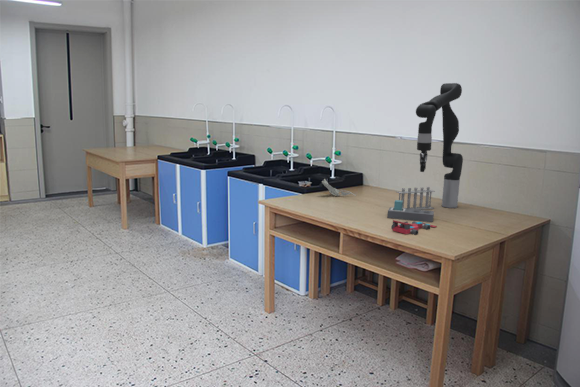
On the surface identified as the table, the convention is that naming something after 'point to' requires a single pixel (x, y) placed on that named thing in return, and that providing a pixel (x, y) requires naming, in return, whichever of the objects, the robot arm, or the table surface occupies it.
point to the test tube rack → (416, 198)
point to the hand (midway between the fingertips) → (422, 170)
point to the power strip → (411, 214)
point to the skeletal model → (333, 190)
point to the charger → (398, 205)
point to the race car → (409, 227)
